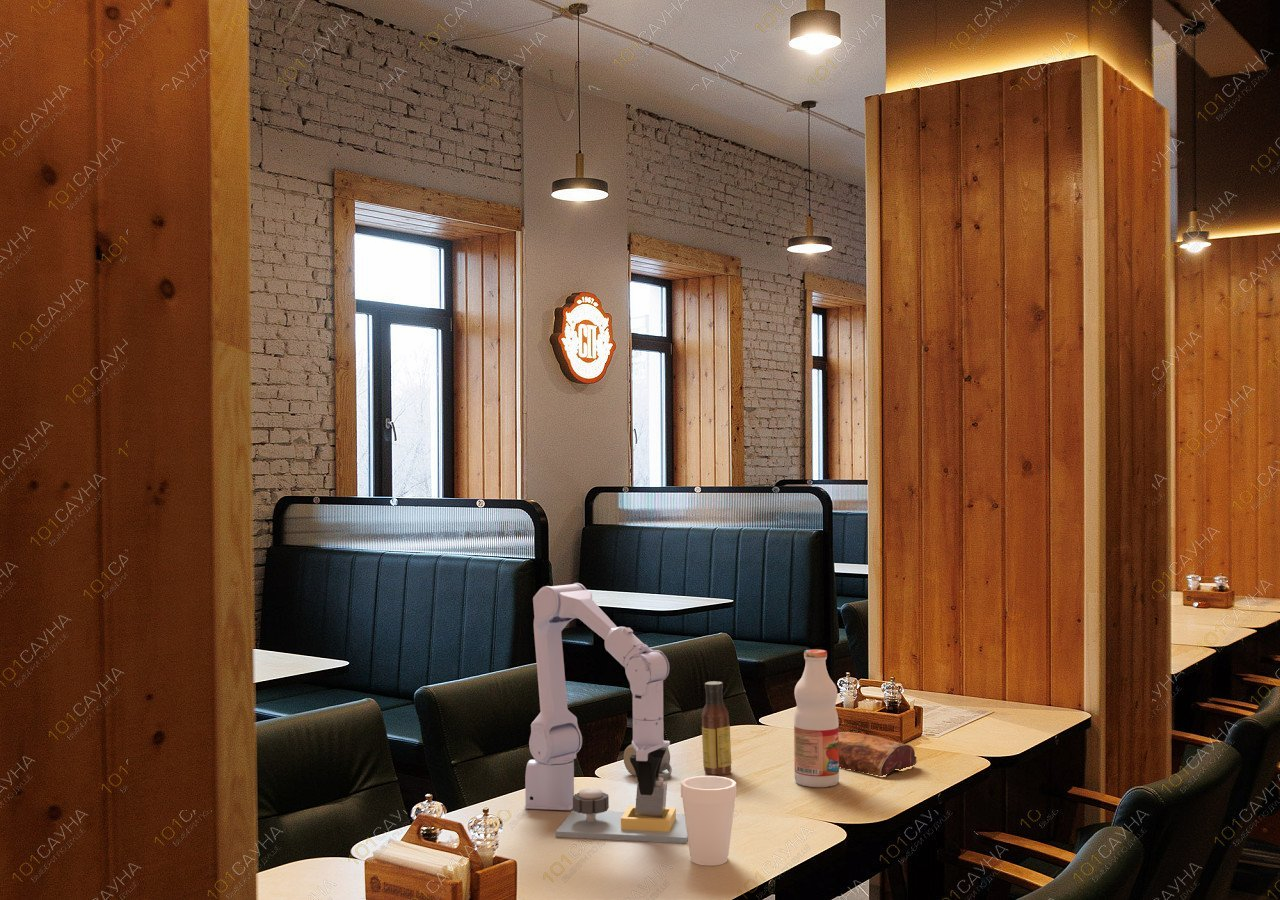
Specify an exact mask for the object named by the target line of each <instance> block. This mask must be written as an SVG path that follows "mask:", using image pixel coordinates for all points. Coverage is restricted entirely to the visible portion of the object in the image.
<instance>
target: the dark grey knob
mask: <svg viewBox="0 0 1280 900" xmlns="http://www.w3.org/2000/svg"><path fill="white" fill-rule="evenodd" d="M609 797H610V796H609V794H607V793H605V792H603V790H602V789H597V788H584V789H580V790H579V791H578V792H577V793H574V796H573V808H572V811H575V812H578V813H582V814H593V813H595V814H598V813H602V812H605V811H609V808H610V805H609Z"/></svg>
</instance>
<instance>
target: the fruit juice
mask: <svg viewBox="0 0 1280 900" xmlns="http://www.w3.org/2000/svg"><path fill="white" fill-rule="evenodd" d="M803 658H804V661H805V666H804V670H803V672H802V675H801V678H800V679H799V680H798V681H797V683H796V685H795V687H794V692H793V693H794V699H795V702H796V708H795V710H794V715H793V717H794V718H793V735H794V736H793V737H794V738H793V739H794V740H793V741H794V745H793V748H794V749H793V750H794V751H793V752H794V758H793V759H794V762H793V763H794V780H795V782H796V783H797V784H798V785H800V786H803V787H808V788H829V786H830V787H834V786H837V784H839V781H840V780H839V779H840V768H839V734H838V732H839V726H840V725H839V715H838V711H837V709H836V703H837V701H838V689H837V685H836V683H834V682H833V680H832V679H831V677H830V675H829V673H828V670H827V668H828V667H827V665H826V663H827V661H826V660H827V658H828V652H827V650H825V649H806V650H804V652H803Z"/></svg>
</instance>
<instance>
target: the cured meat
mask: <svg viewBox="0 0 1280 900" xmlns="http://www.w3.org/2000/svg"><path fill="white" fill-rule="evenodd" d="M838 734H839V767H841V768H840V769H842V768H845V769H844V770H846V769H851V770H855V771H854V772H856V771H860V772H864V773H869V774H873V775H878V776H883V775H886V774H888V775H889V774H890V773H892V772H893V771H895V769H899V770H901V769H903V768H906V767H910V766H913V765H915V764H916V765H917V762H918V761H917V758H918V757H917V756H915V754H916V753H915V748H914V747H913V746H911V745H910V744H905V743H901V742H898V741H895V740H890V739H887V738H885V737H882V736H881V737H880V736H877V735H872V734H865V733H857V732H851V731H838ZM916 765H915V766H916ZM860 772H859V773H860ZM864 773H863V774H864Z"/></svg>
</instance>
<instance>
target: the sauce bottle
mask: <svg viewBox="0 0 1280 900" xmlns="http://www.w3.org/2000/svg"><path fill="white" fill-rule="evenodd" d="M704 689H705V705H704V706H703V708H702V710H701V713H700V714H701V735H702V739H701V740H702V742H701V743H702V759H703V760H702V761H703V771H704V773H705V774H707V775H710V774H711V775H710V776H723V775H724V776H725V775H729V774H730V773H731V772H732V764H733V763H732V748H731V747H732V745H731V743H732V742H731V726H730V725H731V724H730V718H729V717H730V716H729V710H728V709H727V706H726V704H725V703H724V699H723V698H724V697H723V690H724V683H723V682H722V681H715V680H713V681H707V682H705V683H704Z"/></svg>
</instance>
